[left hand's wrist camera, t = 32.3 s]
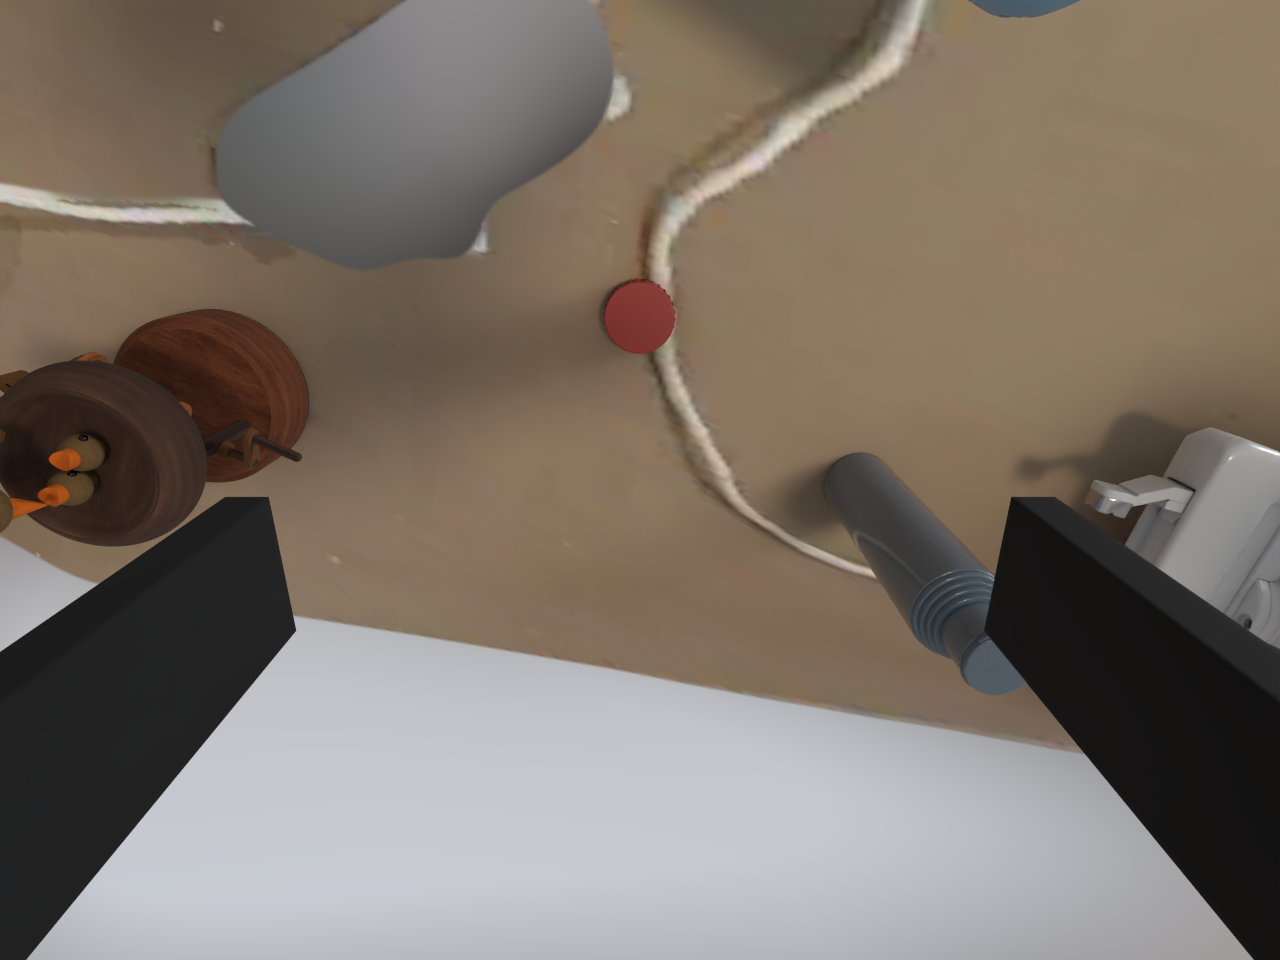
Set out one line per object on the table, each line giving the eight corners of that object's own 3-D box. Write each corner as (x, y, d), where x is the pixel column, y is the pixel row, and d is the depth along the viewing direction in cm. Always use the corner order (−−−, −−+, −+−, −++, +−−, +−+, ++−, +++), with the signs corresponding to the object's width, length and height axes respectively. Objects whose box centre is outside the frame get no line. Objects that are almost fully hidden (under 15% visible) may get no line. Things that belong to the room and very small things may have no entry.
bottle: (903, 490, 48) (1077, 675, 29) (845, 527, 49) (977, 729, 30) (869, 439, 47) (1028, 598, 28) (810, 478, 48) (925, 657, 29)
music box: (113, 440, 47) (-241, 555, 28) (134, 278, 44) (-246, 280, 25) (340, 506, 48) (155, 657, 29) (374, 353, 46) (193, 410, 26)
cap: (673, 277, 43) (674, 280, 41) (674, 347, 45) (676, 353, 43) (603, 279, 43) (601, 282, 41) (606, 349, 45) (605, 355, 43)
